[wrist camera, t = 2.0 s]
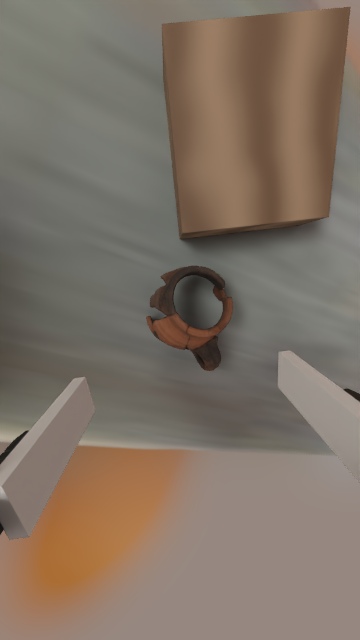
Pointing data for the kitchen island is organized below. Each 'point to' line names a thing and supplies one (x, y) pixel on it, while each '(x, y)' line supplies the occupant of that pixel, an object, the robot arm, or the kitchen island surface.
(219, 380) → the kitchen island surface
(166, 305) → the brown piece
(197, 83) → the walnut riser block
